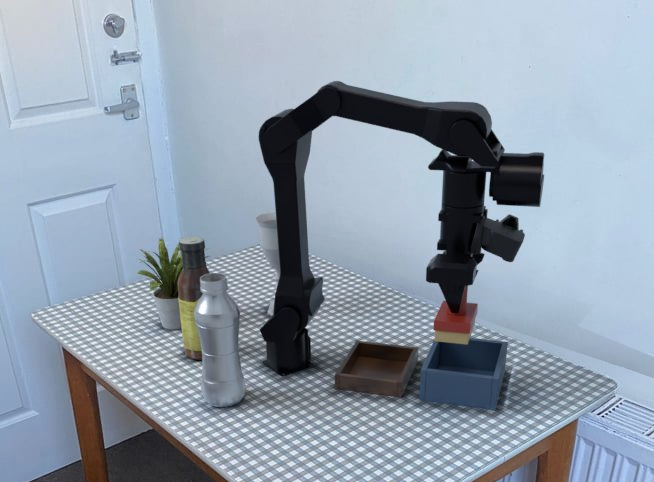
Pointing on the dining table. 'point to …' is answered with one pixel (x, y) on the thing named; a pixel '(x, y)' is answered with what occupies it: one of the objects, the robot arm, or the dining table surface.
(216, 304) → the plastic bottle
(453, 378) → the tote
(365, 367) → the brown wooden tray
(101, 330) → the dining table surface
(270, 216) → the chalice
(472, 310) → the brush
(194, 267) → the sauce bottle
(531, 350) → the dining table surface
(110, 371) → the dining table surface
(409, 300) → the dining table surface
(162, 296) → the house plant
